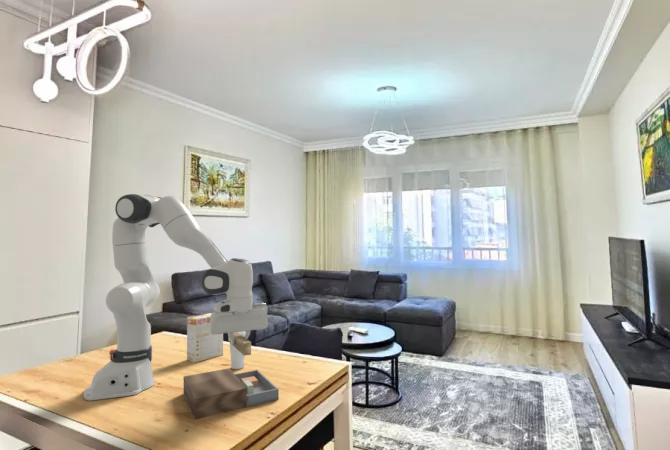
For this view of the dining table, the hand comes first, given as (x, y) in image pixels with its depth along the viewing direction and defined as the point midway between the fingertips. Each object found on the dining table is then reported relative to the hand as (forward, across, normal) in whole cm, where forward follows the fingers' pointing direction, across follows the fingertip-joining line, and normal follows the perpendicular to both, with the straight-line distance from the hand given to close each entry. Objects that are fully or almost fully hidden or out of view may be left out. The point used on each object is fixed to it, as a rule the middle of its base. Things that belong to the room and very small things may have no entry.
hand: (238, 343), depth 130 cm
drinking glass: (+18, -8, -28) cm, 34 cm away
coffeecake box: (+18, +1, -50) cm, 53 cm away
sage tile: (+14, -1, +6) cm, 16 cm away
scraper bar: (+1, 0, 0) cm, 1 cm away
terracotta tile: (+15, -6, -5) cm, 17 cm away
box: (+17, -5, 0) cm, 18 cm away
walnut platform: (+18, +8, 0) cm, 19 cm away
